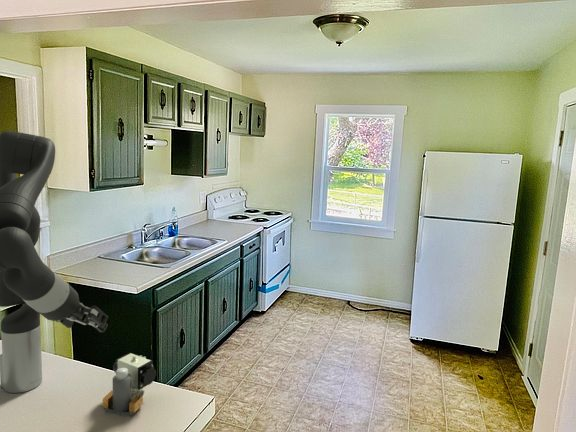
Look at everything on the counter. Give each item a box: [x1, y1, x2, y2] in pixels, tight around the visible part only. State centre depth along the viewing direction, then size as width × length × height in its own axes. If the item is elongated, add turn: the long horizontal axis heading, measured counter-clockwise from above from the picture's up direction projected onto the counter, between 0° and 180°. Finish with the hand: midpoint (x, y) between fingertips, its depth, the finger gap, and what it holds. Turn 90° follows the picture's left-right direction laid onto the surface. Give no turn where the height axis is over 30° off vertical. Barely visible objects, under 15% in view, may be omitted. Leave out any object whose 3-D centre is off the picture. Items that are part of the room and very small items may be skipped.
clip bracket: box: [102, 389, 144, 418], centre depth 109 cm, size 9×5×4 cm, turn 80°
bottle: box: [112, 368, 132, 411], centre depth 108 cm, size 5×5×10 cm
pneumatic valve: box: [112, 352, 157, 400], centre depth 114 cm, size 6×12×12 cm, turn 63°
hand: (87, 326), depth 96 cm, fingers open, 8 cm apart
